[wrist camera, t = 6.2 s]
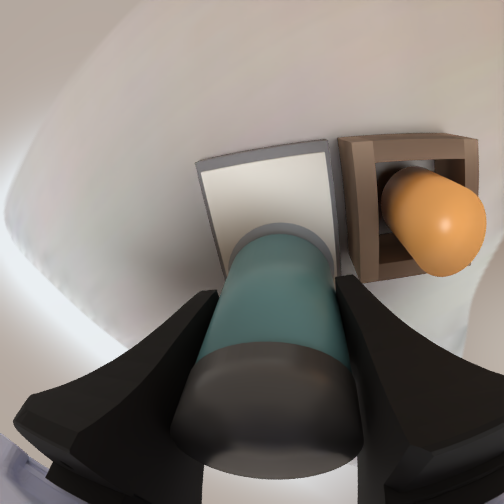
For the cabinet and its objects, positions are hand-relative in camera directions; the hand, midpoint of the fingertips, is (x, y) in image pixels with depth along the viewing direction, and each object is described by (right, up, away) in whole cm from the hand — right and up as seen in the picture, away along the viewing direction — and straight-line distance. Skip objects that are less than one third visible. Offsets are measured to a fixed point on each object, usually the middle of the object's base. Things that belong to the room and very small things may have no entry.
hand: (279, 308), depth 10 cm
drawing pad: (0, +2, +3) cm, 3 cm away
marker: (0, +1, +1) cm, 2 cm away
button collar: (+5, +4, +1) cm, 7 cm away
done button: (+5, +4, 0) cm, 6 cm away
